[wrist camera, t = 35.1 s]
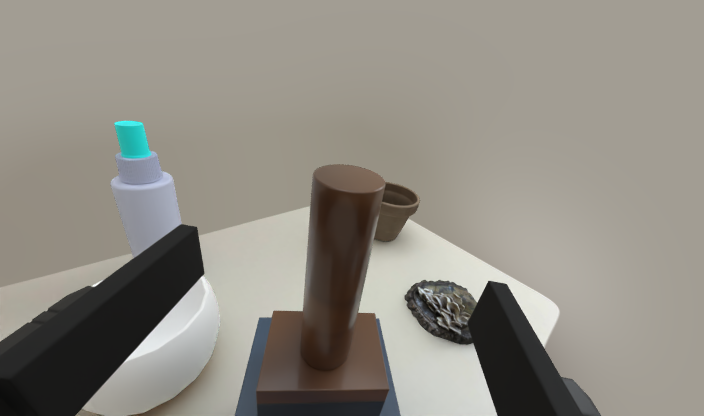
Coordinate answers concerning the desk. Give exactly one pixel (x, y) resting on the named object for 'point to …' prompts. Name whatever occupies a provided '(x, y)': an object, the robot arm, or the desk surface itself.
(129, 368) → the cup
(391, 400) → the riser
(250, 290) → the desk surface
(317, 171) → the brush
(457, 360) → the desk surface
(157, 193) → the spray bottle
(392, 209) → the flower pot
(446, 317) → the grey rough lump
